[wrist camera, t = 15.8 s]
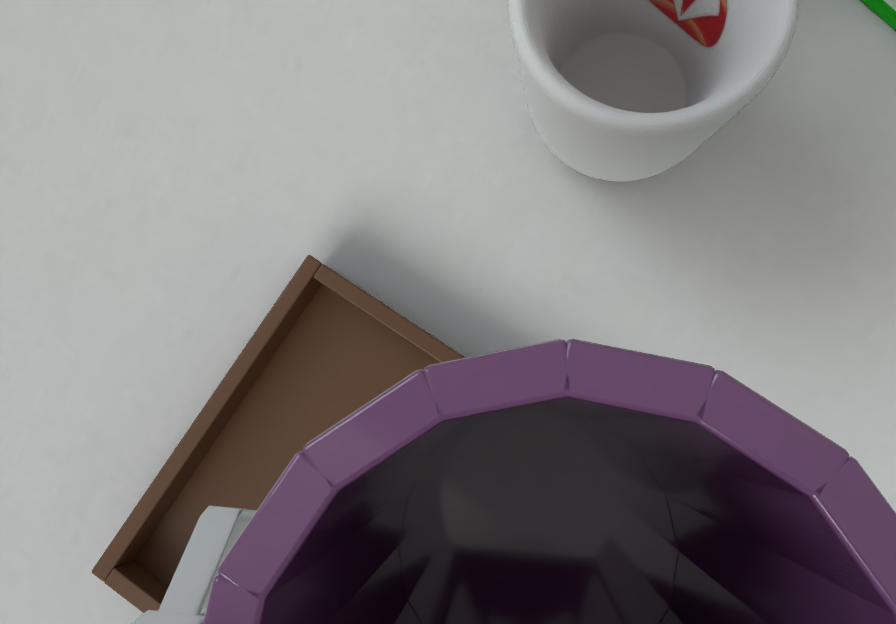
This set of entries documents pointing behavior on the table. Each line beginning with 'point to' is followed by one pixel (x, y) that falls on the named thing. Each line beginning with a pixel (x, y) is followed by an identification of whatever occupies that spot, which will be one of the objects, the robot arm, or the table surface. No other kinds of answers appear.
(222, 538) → the robot arm
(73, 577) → the table surface
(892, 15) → the book
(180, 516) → the walnut tray
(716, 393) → the plum tumbler
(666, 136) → the cup
